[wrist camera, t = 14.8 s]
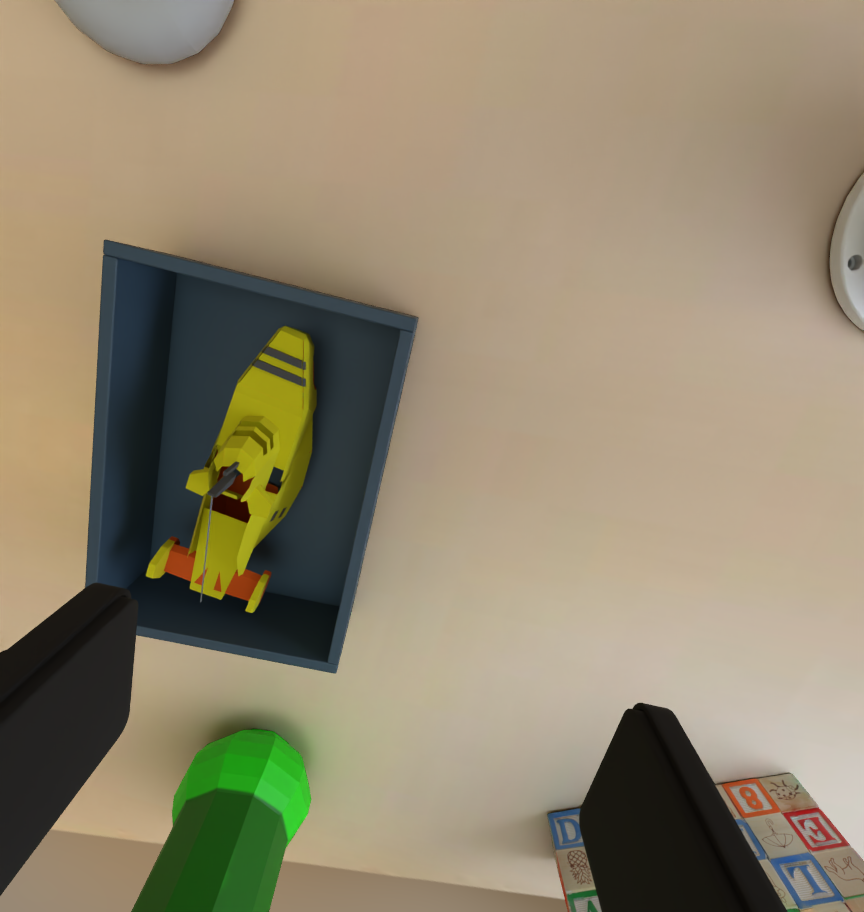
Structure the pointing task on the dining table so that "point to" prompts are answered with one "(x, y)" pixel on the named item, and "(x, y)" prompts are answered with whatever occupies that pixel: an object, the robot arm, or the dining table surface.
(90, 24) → the donut
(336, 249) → the dining table surface
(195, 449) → the tote
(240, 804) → the plastic bottle
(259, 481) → the yellow toy submarine
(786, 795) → the stack of blocks
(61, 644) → the robot arm
